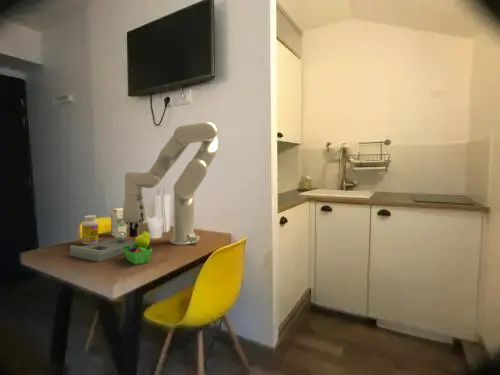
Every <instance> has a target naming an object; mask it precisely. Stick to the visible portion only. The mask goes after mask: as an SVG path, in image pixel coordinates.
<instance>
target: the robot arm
mask: <svg viewBox="0 0 500 375" xmlns="http://www.w3.org/2000/svg"><path fill="white" fill-rule="evenodd" d="M217 134H218V129H217V126H216V125H215V124H214V123H212V122H208V121H204V122H198V123H192V124H184V125H180V126H177V127H176V128H175V130H174V132H173V135H172V136H171V137H170V138H169V140H168V142H166V143H165V145H164V146H163V147H162V149H161V150H160V151H159V154H158V156H157V159H156V160H155V162H154V163H153V164H152V165H151V167H150V169H149V170H148V171H147V172H137V171H127V172H126V173H125V174H124V201H123V207H122V208H123V220H124V223H125V224H127V229H129V236H128V237H129V238H136V237H138V228H139V227H140V226H143V225H144V222H146V211H145V203H144V201H143V199H144V197H143V188H145V189H154V188H155V187H157V186H158V185H159V184H160V183H161V181H162V180H163V178H164V177H165V176H166V175H167V173H168V172H169V170H170V169H171V168H172V167H173V166H174V165H175V163H176V162H177V161H178V160H179V158H180V157H181V155H182V154H183V153H184V152H185V150H186V149H187V148H188V147H189V145H190V144H196V143H200V147H199V148H198V150H197V151H196V153H195V155H194V156H193V157H192V159H191V160H190V161H189V162H188V163H187V165H186V166H185V168H184V170H182V173H180V176H179V177H178V178H177V180H176V181H175V183H174V185H173V200H174V201H173V237H171V239H170V243H171V244H173V245H176V246H177V245H179V246H181V245H184V246H187V245H192V244H195V243H197V241H199V240H200V235H196V232H194V221H195V217H194V214H195V213H194V212H195V211H194V210H195V193H196V191H197V189H198V188H199V187H200V185H201V184H202V182H203V180H204V178H205V177H206V175H207V173H208V169H209V166H210V165H211V163H212V162H213V160H214V158H215V157H216V155H217V153H218V149H219V140H218V139H219V138H218V137H217Z"/></svg>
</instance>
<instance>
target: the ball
mask: <svg viewBox="0 0 500 375" xmlns="http://www.w3.org/2000/svg"><path fill="white" fill-rule="evenodd" d="M114 238H115V239H116V241H118V242H123V241H124V240H127V235H126V233H125V232H123V231H119V232H117V233H116V235H115V236H114Z"/></svg>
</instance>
